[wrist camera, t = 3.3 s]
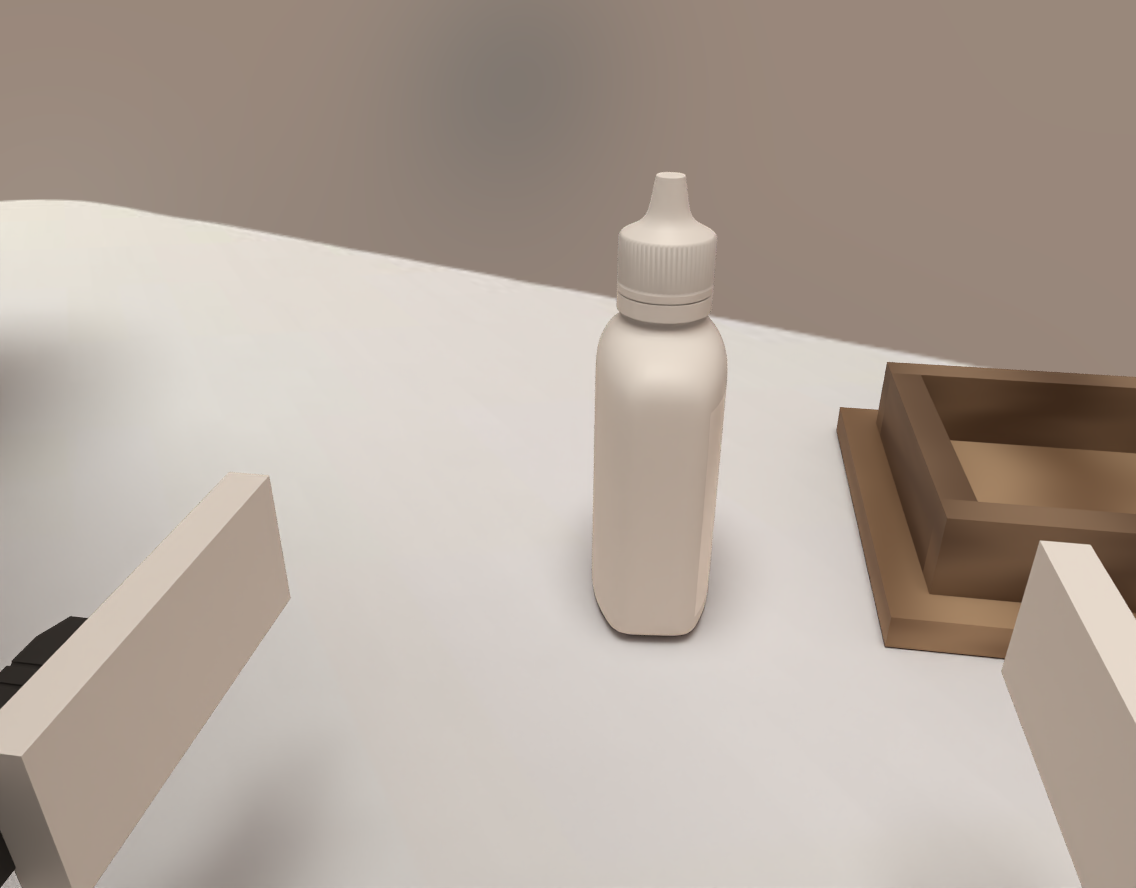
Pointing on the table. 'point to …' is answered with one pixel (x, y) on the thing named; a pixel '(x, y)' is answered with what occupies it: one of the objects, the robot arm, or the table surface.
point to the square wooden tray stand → (986, 493)
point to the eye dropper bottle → (658, 422)
